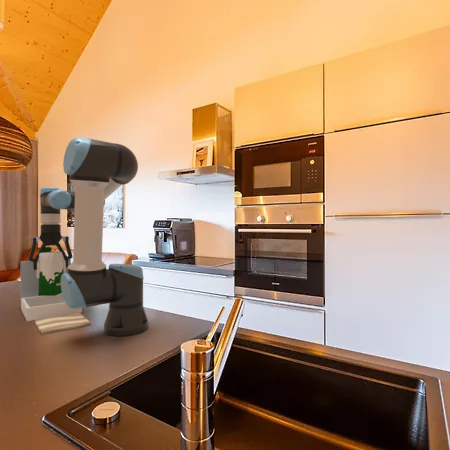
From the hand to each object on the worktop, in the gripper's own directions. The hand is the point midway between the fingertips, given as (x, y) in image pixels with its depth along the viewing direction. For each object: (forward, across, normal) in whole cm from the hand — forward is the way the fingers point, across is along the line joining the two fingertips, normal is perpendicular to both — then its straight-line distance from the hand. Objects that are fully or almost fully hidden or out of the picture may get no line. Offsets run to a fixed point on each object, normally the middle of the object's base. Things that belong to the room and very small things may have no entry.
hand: (51, 276), depth 137 cm
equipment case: (+15, 0, -4) cm, 15 cm away
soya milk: (+8, 0, 0) cm, 8 cm away
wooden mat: (+15, 0, +22) cm, 26 cm away
